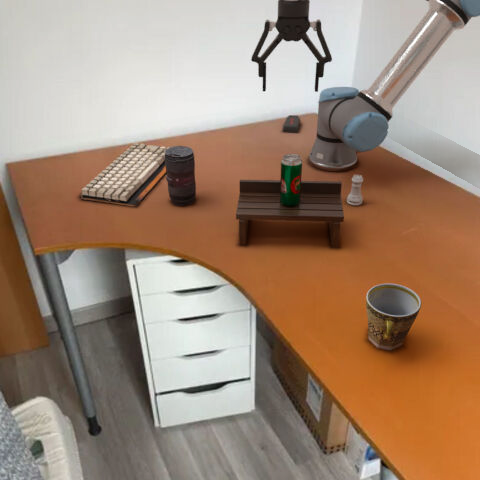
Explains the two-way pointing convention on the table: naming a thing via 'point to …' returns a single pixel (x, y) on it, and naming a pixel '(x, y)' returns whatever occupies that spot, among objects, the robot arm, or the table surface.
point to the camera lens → (180, 174)
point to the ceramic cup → (390, 314)
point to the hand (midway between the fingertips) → (290, 90)
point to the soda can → (290, 180)
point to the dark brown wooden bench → (309, 209)
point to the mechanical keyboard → (128, 176)
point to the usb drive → (291, 124)
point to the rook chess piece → (355, 191)
